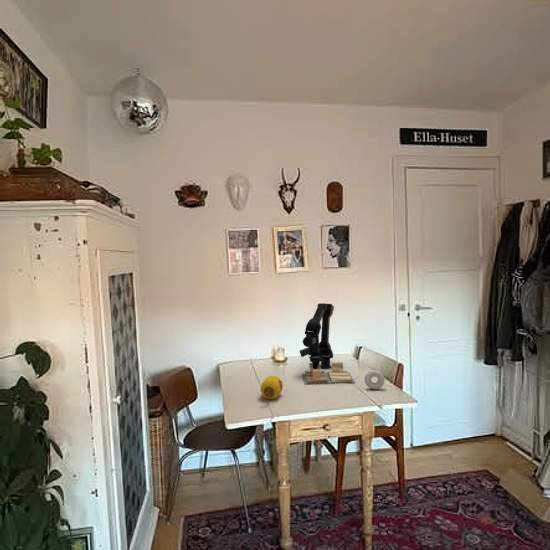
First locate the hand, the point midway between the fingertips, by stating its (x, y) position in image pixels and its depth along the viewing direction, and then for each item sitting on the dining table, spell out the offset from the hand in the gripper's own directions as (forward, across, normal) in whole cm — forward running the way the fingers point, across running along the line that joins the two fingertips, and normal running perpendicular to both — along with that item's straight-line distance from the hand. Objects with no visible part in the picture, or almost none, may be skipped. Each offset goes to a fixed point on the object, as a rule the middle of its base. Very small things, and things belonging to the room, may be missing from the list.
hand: (314, 370), depth 238 cm
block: (+1, +10, 0) cm, 11 cm away
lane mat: (+3, +7, +6) cm, 10 cm away
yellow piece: (+3, +35, -24) cm, 42 cm away
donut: (+3, +28, +28) cm, 40 cm away
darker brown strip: (+3, +8, 0) cm, 8 cm away
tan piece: (+3, +8, +13) cm, 15 cm away
